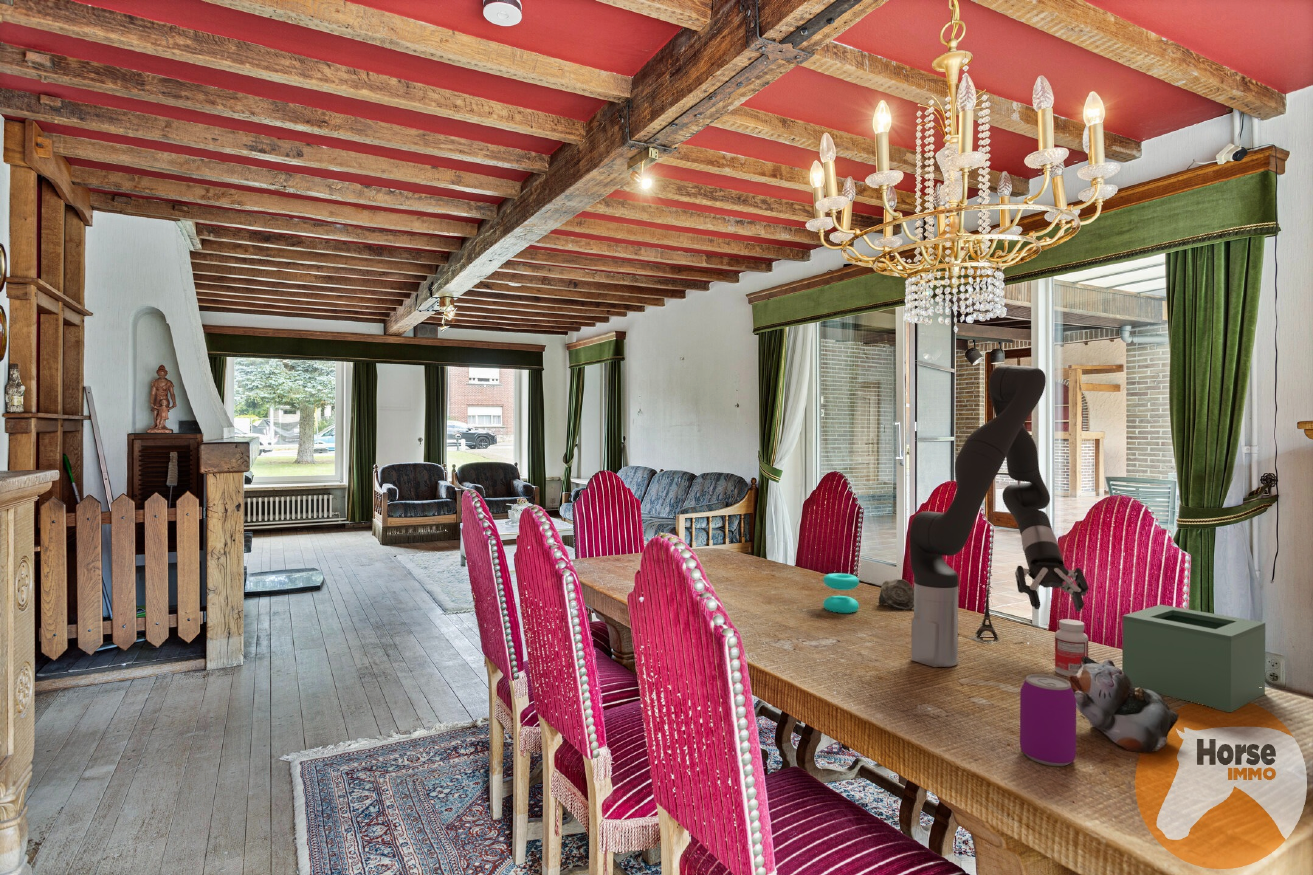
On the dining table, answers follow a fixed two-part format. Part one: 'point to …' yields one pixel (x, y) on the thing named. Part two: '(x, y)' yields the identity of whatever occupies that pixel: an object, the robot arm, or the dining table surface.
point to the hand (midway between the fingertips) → (1058, 608)
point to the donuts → (841, 602)
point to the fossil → (897, 594)
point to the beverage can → (1048, 720)
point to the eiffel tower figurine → (986, 626)
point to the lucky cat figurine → (1121, 707)
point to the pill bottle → (1070, 647)
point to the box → (1195, 656)
